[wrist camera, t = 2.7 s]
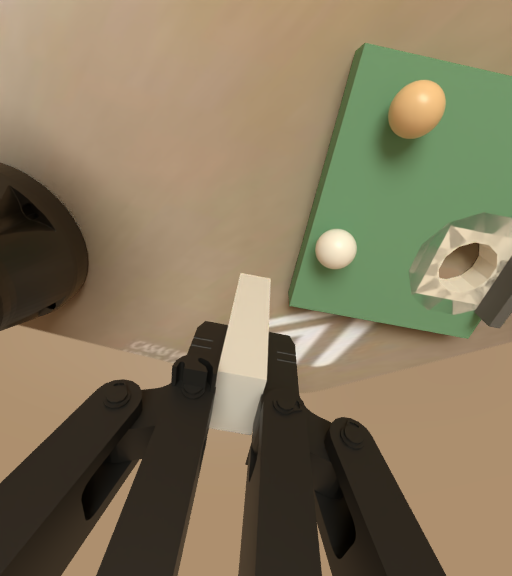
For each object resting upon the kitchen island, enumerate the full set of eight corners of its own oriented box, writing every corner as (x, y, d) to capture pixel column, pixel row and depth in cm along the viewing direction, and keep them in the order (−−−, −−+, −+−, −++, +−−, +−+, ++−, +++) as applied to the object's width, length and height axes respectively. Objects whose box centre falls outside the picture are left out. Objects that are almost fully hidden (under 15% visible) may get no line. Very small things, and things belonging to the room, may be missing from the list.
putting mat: (288, 292, 31) (290, 319, 26) (355, 51, 21) (375, 34, 17) (461, 324, 31) (489, 355, 27) (605, 107, 21) (682, 104, 17)
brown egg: (374, 132, 21) (389, 134, 18) (392, 78, 19) (413, 70, 17) (417, 141, 21) (439, 145, 18) (439, 88, 19) (467, 83, 17)
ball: (308, 255, 26) (312, 272, 23) (319, 220, 24) (325, 233, 21) (344, 262, 26) (352, 279, 23) (357, 227, 24) (367, 241, 22)
